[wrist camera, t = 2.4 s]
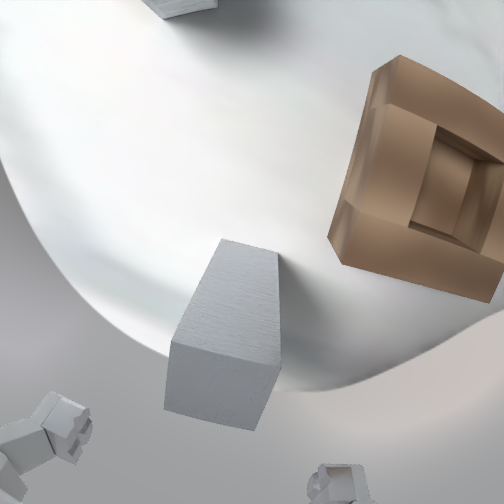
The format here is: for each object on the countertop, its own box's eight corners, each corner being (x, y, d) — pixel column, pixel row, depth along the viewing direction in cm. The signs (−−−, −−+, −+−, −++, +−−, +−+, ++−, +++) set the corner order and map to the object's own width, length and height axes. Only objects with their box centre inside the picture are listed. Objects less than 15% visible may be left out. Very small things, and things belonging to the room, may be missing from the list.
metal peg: (221, 238, 22) (171, 340, 10) (277, 252, 22) (281, 367, 11) (210, 288, 23) (163, 409, 12) (263, 301, 23) (254, 431, 12)
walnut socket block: (372, 72, 17) (399, 54, 12) (500, 138, 17) (540, 142, 13) (327, 237, 21) (341, 264, 17) (457, 275, 21) (489, 303, 17)
